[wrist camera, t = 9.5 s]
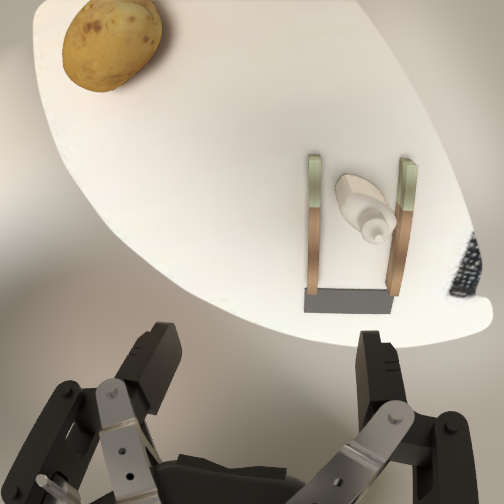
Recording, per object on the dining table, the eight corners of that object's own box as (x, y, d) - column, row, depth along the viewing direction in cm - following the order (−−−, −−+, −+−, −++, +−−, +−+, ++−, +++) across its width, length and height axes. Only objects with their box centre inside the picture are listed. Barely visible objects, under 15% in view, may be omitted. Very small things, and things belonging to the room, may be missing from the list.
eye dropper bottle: (362, 161, 33) (386, 196, 23) (386, 203, 35) (415, 252, 24) (329, 181, 35) (337, 224, 24) (354, 221, 36) (370, 277, 26)
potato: (81, 65, 32) (27, 68, 23) (137, -15, 26) (89, -35, 18) (132, 107, 34) (81, 118, 25) (197, 24, 28) (158, 5, 20)
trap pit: (304, 287, 42) (304, 289, 41) (394, 289, 40) (395, 291, 39) (304, 311, 43) (304, 312, 43) (389, 312, 41) (390, 313, 41)
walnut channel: (308, 154, 34) (308, 160, 31) (409, 159, 32) (417, 165, 29) (307, 280, 41) (306, 294, 39) (393, 282, 39) (398, 296, 37)
